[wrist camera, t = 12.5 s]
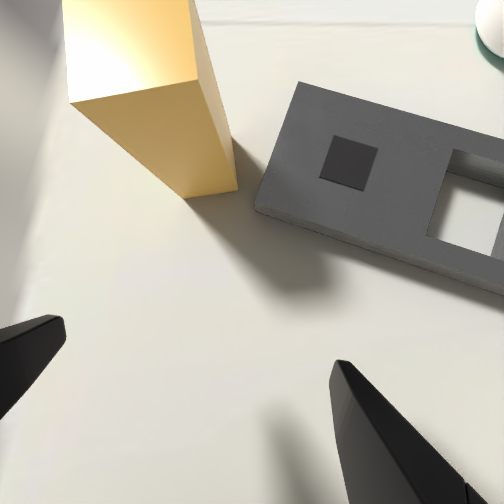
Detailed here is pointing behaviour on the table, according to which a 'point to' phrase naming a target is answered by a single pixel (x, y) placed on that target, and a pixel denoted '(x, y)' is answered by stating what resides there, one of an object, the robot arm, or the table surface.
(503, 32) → the can
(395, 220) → the charcoal peg board
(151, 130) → the amber peg
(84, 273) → the table surface
